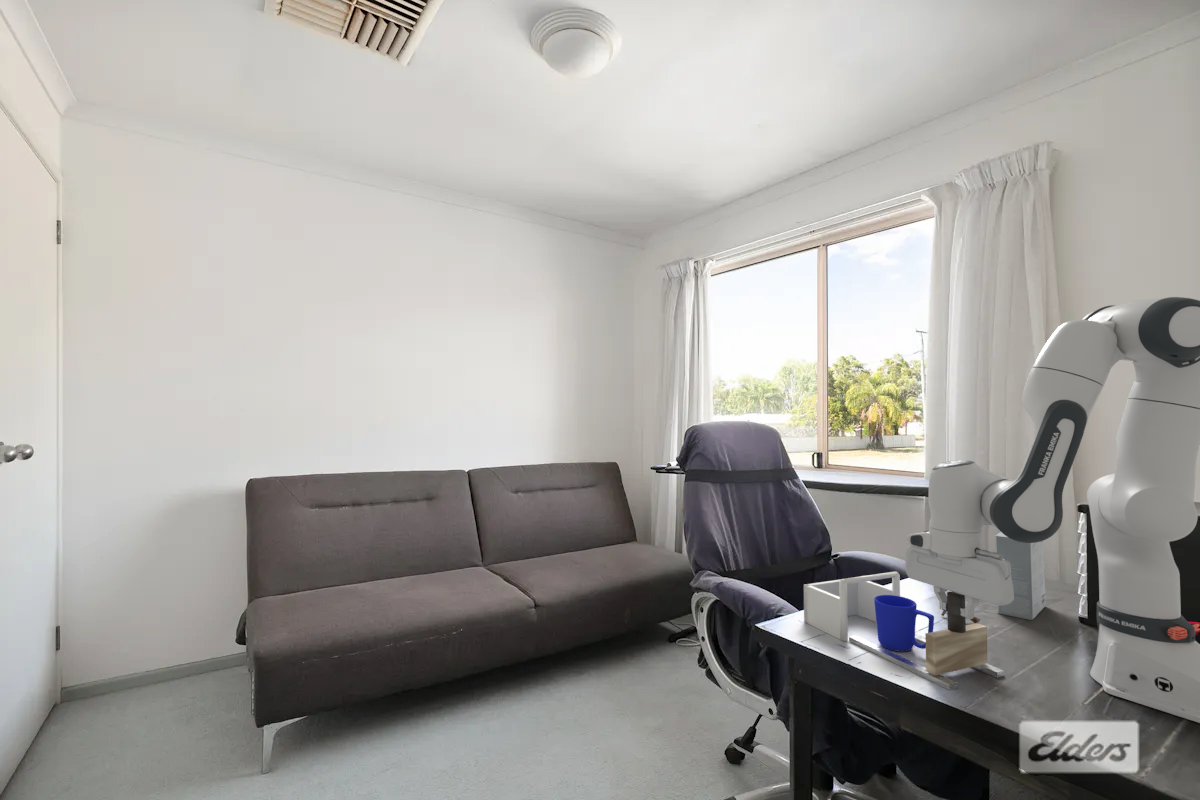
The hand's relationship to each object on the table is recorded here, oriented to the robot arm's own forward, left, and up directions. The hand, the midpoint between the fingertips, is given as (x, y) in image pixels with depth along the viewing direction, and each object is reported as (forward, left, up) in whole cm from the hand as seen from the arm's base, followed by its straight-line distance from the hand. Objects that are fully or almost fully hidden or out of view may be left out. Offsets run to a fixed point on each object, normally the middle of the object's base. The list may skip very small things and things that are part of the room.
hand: (956, 614), depth 111 cm
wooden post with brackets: (+19, -27, -12) cm, 35 cm away
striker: (0, 0, -10) cm, 10 cm away
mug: (+12, 0, -12) cm, 17 cm away
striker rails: (+8, 0, -12) cm, 14 cm away
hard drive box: (+19, -49, -12) cm, 54 cm away
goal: (+27, 0, -12) cm, 29 cm away
